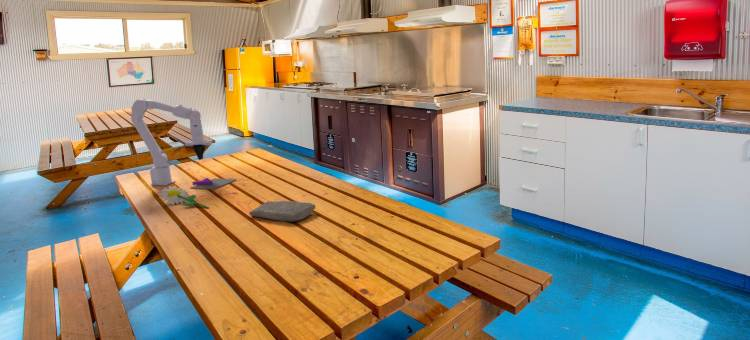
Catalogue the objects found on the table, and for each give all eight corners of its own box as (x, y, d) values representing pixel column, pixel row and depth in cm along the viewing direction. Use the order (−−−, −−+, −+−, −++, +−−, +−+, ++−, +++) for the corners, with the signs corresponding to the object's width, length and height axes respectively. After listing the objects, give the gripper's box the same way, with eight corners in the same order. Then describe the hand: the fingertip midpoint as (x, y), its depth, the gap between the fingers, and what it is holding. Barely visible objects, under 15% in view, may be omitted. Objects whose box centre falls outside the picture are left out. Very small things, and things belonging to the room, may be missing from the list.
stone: (318, 202, 204) (296, 214, 191) (319, 213, 205) (297, 225, 192) (265, 197, 216) (241, 208, 203) (266, 207, 217) (242, 219, 204)
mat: (190, 188, 255) (190, 187, 255) (214, 179, 271) (214, 178, 271) (213, 189, 250) (213, 188, 250) (236, 180, 266) (236, 179, 266)
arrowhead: (194, 182, 266) (191, 187, 256) (194, 179, 265) (191, 183, 256) (214, 179, 268) (213, 184, 258) (214, 176, 267) (212, 181, 258)
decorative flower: (221, 209, 226) (179, 192, 242) (220, 199, 224) (178, 182, 241) (196, 219, 216) (154, 201, 233) (195, 208, 214) (153, 191, 231)
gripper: (180, 135, 266) (183, 161, 269) (205, 134, 263) (209, 160, 266) (187, 132, 273) (191, 158, 276) (212, 132, 269) (216, 157, 273)
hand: (200, 159), depth 271 cm, fingers closed
